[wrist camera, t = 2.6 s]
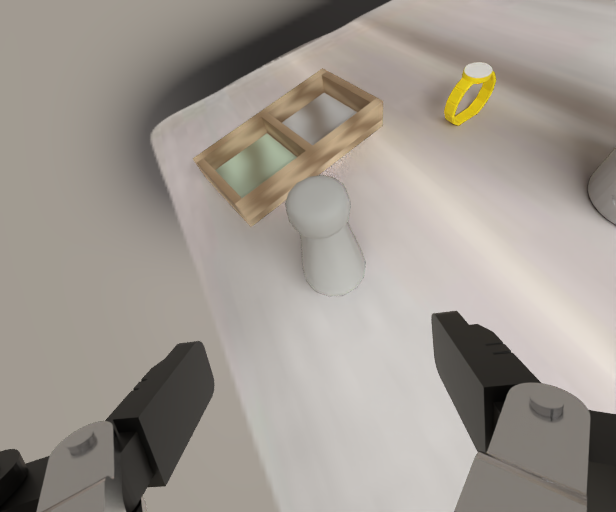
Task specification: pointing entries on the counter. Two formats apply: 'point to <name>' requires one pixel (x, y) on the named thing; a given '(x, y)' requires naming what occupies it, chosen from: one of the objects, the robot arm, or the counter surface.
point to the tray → (289, 143)
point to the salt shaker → (326, 235)
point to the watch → (470, 76)
